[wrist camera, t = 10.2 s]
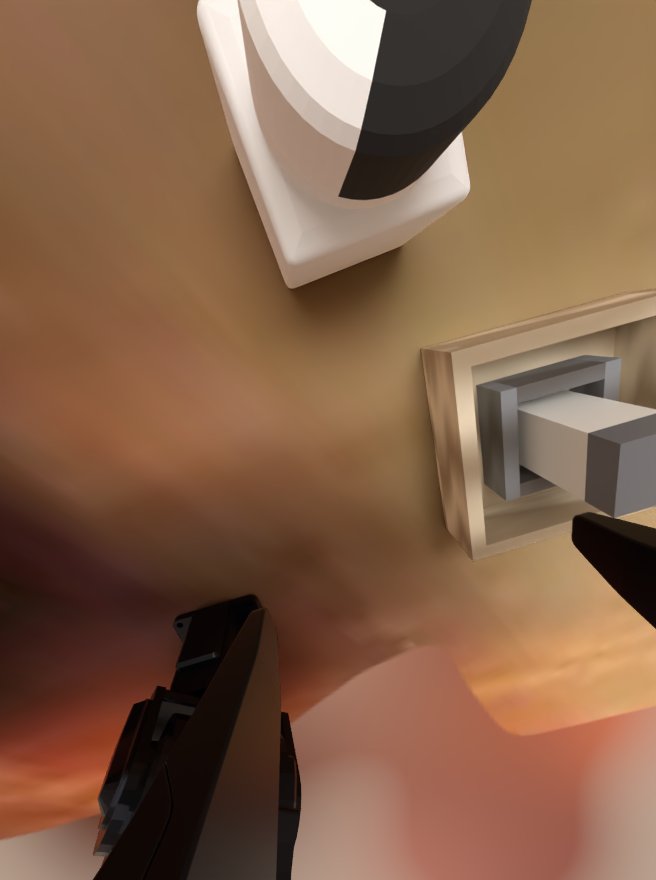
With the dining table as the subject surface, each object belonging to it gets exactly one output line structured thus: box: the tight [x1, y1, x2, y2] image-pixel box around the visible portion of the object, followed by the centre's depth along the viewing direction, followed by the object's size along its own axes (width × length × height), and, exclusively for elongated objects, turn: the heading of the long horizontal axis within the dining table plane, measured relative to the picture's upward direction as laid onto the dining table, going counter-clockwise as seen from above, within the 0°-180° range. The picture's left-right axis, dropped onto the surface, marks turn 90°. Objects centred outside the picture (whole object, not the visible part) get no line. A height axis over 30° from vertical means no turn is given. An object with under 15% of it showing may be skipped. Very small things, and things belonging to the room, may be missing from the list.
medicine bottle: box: [197, 0, 532, 289], centre depth 11 cm, size 7×7×12 cm
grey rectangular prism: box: [517, 390, 656, 518], centre depth 18 cm, size 4×4×8 cm
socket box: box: [421, 289, 656, 562], centre depth 21 cm, size 14×14×4 cm
